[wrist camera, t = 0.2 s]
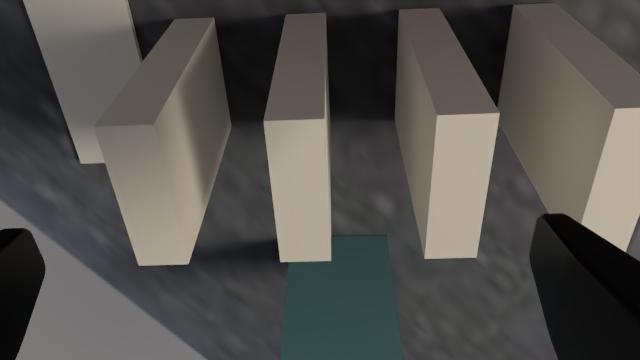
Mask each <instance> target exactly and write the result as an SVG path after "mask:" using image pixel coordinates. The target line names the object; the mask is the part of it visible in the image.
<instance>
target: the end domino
mask: <svg viewBox="0 0 640 360" xmlns="http://www.w3.org/2000/svg"><path fill="white" fill-rule="evenodd" d="M280 360H404V358H403V351H402V344H401V336H400V329H399V322H398V314H397V307H396V300H395V293H394V285H393V278H392V271H391V264H390V256H389V249H388V242H387V235H377V236H339V237H331V261H310V262H289V266H288V277H287V288H286V299H285V311H284V322H283V333H282V344H281V355H280Z"/></svg>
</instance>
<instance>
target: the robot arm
mask: <svg viewBox="0 0 640 360" xmlns="http://www.w3.org/2000/svg"><path fill="white" fill-rule="evenodd" d="M529 256H530V264H531V268H532V272H533V275H534V279H535V283H536V287H537V291H538V294H539V298H540V302H541V306H542V309H543V313H544V317H545V321H546V324H547V328H548V332H549V335H550V338H551V341H552V344H553V347H554V350H555V352H556V355H557V357H558V360H640V261H638V260H637V259H635V258H634V257H632V256H631V255H629V254H628V253H626V252H624V251H623V250H621V249H620V248H618V247H617V246H615V245H613V244H612V243H610V242H609V241H607V240H606V239H604V238H602V237H601V236H599V235H598V234H596V233H595V232H593V231H591V230H590V229H588V228H587V227H585V226H584V225H582V224H580V223H579V222H577V221H576V220H574V219H573V218H571V217H569V216H568V215H566V214H563V213H549V214H541V215H540V216H539V217H538V218H537V221H536V225H535V229H534V233H533V238H532V242H531V247H530V253H529ZM44 276H45V263H44V260H43V257H42V255H41V253H40V251H39V249H38V246H37V244H36V242H35V240H34V238H33V235H32V233H31V232H30V231H29V230H27V229H25V228H17V229H15V228H12V229H3V230H0V360H15V359H16V357H17V354H18V352H19V349H20V347H21V344H22V341H23V339H24V336H25V333H26V330H27V327H28V324H29V321H30V318H31V315H32V312H33V309H34V306H35V303H36V300H37V297H38V294H39V291H40V288H41V285H42V282H43V279H44Z"/></svg>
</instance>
